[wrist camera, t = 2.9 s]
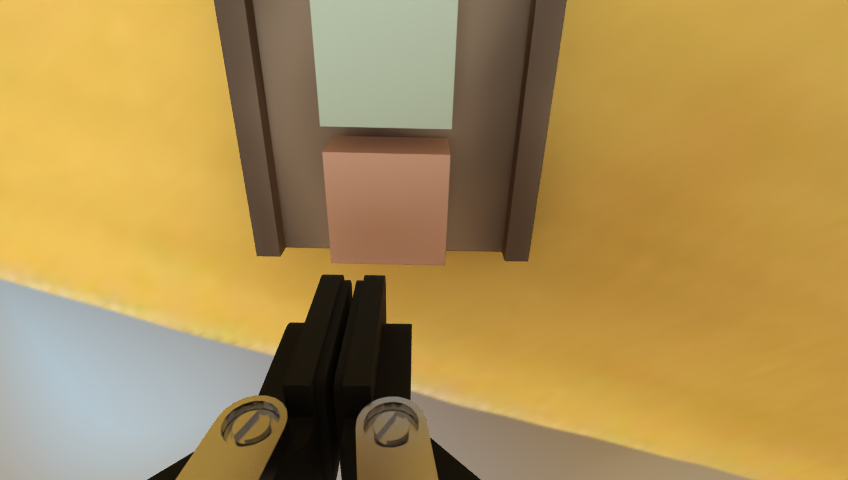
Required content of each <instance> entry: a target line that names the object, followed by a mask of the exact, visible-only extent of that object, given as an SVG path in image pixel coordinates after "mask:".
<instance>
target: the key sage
mask: <svg viewBox="0 0 848 480" xmlns="http://www.w3.org/2000/svg"><path fill="white" fill-rule="evenodd" d="M310 11H311V23H312V35H313V47H314V59H315V71H316V83H317V95H318V107H319V119H320V126H328V127H371V128H415V129H452V115H453V95H454V75H455V55H456V36H457V16H458V0H310Z"/></svg>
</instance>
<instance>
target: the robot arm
mask: <svg viewBox="0 0 848 480" xmlns="http://www.w3.org/2000/svg"><path fill="white" fill-rule="evenodd" d="M411 340H412V324H386V281H385V276H379V275H365V276H364V281H356V285H355V290H354V294H353V298H352V283H351V280H344V276H343V275H322V276H321V279H320V282H319V285H318V287H317V290H316V293H315V296H314V298H313V301H312V304H311V307H310V310H309V312H308V315H307V318H306V321H305V323H289V324H288V325H287V327H286V330H285V332H284V334H283V337H282V339H281V342H280V344H279V347H278V349H277V351H276V354H275V356H274V359H273V361H272V364H271V366H270V369H269V371H268V373H267V376H266V378H265V381H264V383H263V385H262V388H261V391H260V393H259V395H258V396H252V397H247V398H244V399H242V400H239V401H237V402H235V403H233V404H232V405H230V406H229V407H228V408H226V409H225V410H224V411H223V412H222V413H221V414H220V415H219V417H218V418H217V419H216V421H215V422H214V423H213V425H212V426H211V428H210V429H209V431H208V432H207V434H206V435H205V437H204V438H203V440H202V441H201V443H200V444H199V446H198V447H197V449H196V450H195V451H194V452H193V453H191V454H189V455H188V456H186V457H185V458H183V459H181V460H179V461H178V462H176V463H175V464H173V465H171V466H170V467H168V468H166V469H164V470H163V471H161V472H159V473H158V474H156V475H154V476H153V477H151V478H150V479H148V480H336V478H337V473H338V467H339V462H340V466H341V476H342V480H480V479H479V478H478V477H477V476H476V475H474V474H473V473H472V472H471V471H469V470H468V469H467V468H466V467H465V466H464V465H462V464H461V463H460V462H459V461H457V460H456V459H455V458H454V457H453V456H452V455H450V454H449V453H448V452H447V451H445V450H444V449H443V448H442V447H441V446H440V445H438V444H437V443H436V442H435V441H434V440H432V439H431V438H430V435H429V431H428V426H427V421H426V418H425V415H424V413H423V411H422V410H421V409H420V407H419V406H418V405H417V404H415V403H413V402H412V401H410V395H411Z"/></svg>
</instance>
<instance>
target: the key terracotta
mask: <svg viewBox="0 0 848 480" xmlns="http://www.w3.org/2000/svg"><path fill="white" fill-rule="evenodd" d="M322 156H323V168H324V180H325V192H326V204H327V216H328V228H329V240H330V252H331V263H355V264H405V265H445V253H446V233H447V213H448V194H449V174H450V149H449V144H448V138H413V137H369V136H333V137H332V139H331V140H330V142H329V143H328V144H327V146H326V147H325V149H324V150H323V152H322Z"/></svg>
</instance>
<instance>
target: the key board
mask: <svg viewBox="0 0 848 480" xmlns="http://www.w3.org/2000/svg"><path fill="white" fill-rule="evenodd" d="M566 1H567V0H458V16H457V36H456V55H455V75H454V95H453V115H452V129H415V128H371V127H328V126H320V119H319V107H318V95H317V83H316V71H315V59H314V47H313V35H312V23H311V11H310V0H214V4H215V10H216V16H217V22H218V28H219V34H220V40H221V46H222V51H223V57H224V63H225V69H226V75H227V81H228V87H229V93H230V99H231V105H232V111H233V117H234V123H235V128H236V134H237V140H238V146H239V152H240V158H241V164H242V170H243V176H244V182H245V188H246V194H247V200H248V205H249V211H250V217H251V223H252V229H253V235H254V241H255V247H256V253H257V256H279V257H280V256H281V255H282V253H283V251H284V249H285V248H286V247H294V248H330V240H329V228H328V216H327V204H326V192H325V180H324V168H323V156H322V152H323V150H324V149H325V147H326V146H327V144H328V143H329V142H330V140H331V139H332V137H333V136H369V137H413V138H448V144H449V149H450V174H449V194H448V213H447V233H446V251H491V252H502V253H503V257H504V260H505V261H527V262H528V258H529V251H530V245H531V238H532V231H533V224H534V218H535V211H536V204H537V197H538V191H539V184H540V177H541V170H542V164H543V157H544V150H545V143H546V137H547V130H548V123H549V116H550V109H551V103H552V96H553V89H554V82H555V76H556V69H557V62H558V55H559V49H560V42H561V35H562V28H563V22H564V15H565V8H566Z"/></svg>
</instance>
